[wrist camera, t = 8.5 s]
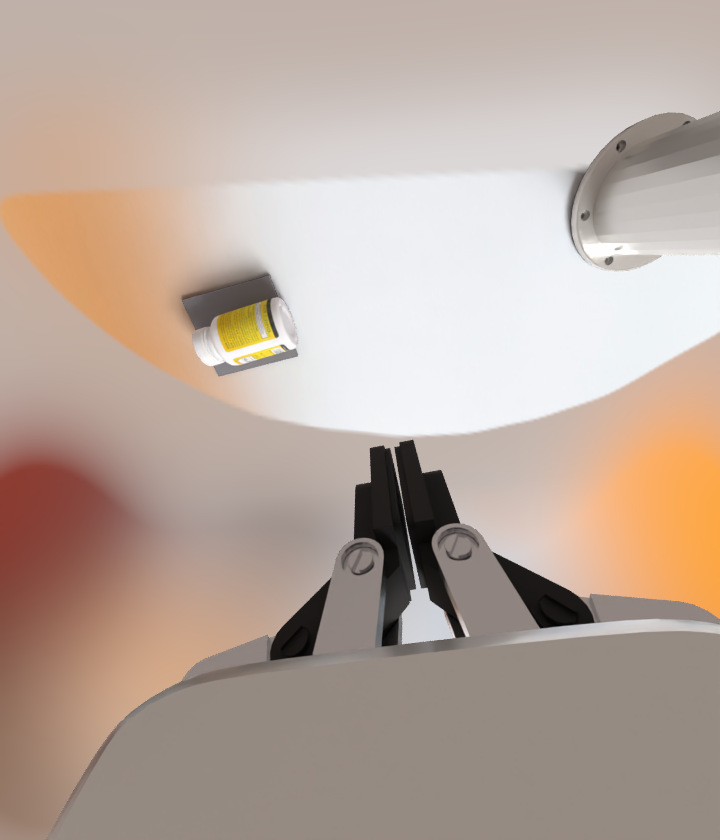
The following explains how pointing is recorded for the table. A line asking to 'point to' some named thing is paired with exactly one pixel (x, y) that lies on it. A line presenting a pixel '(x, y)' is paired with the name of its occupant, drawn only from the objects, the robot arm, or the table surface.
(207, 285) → the table surface
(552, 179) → the table surface
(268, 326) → the supplement bottle
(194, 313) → the mat
